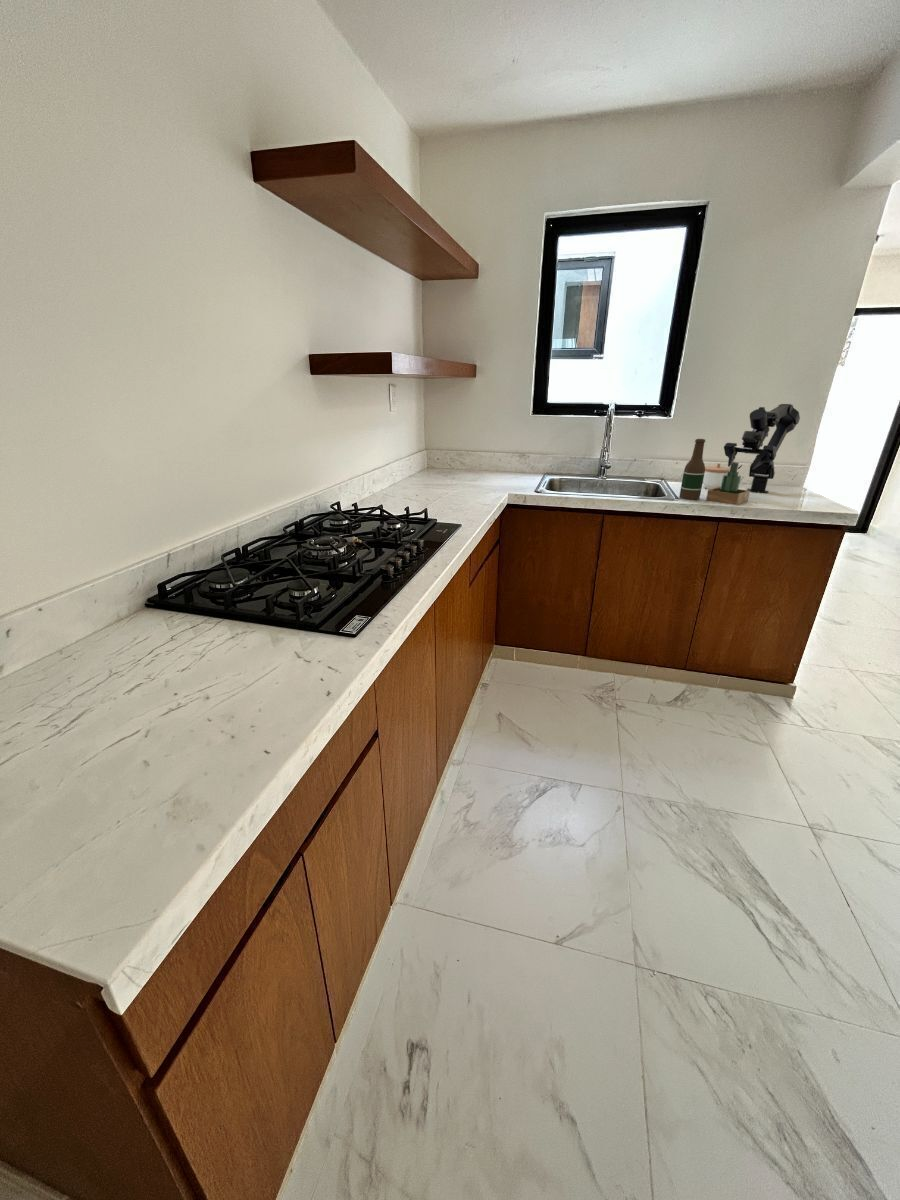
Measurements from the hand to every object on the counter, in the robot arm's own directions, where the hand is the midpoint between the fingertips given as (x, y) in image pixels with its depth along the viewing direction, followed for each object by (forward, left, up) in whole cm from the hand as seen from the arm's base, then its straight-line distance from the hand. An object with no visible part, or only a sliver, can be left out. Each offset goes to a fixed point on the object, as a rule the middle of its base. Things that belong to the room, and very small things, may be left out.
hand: (740, 467), depth 203 cm
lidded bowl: (-26, +1, -13) cm, 29 cm away
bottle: (+5, -4, -12) cm, 14 cm away
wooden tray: (+5, -4, -13) cm, 15 cm away
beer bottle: (+3, -18, -13) cm, 23 cm away
